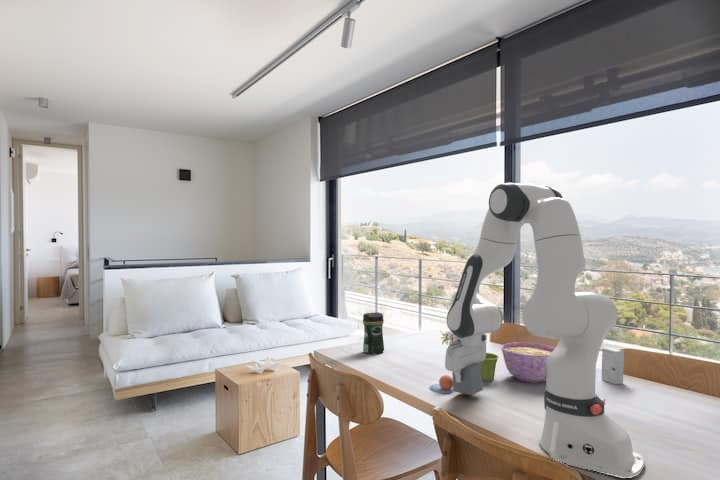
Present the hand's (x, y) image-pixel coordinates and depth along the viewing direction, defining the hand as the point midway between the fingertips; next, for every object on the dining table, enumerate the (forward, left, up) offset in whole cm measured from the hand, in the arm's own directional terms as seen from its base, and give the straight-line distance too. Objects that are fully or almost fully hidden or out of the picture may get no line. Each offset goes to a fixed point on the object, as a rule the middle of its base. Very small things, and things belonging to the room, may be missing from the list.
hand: (466, 378), depth 145 cm
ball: (+8, 0, -3) cm, 8 cm away
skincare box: (-31, -51, -6) cm, 60 cm away
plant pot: (+4, -21, -6) cm, 22 cm away
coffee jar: (+61, -19, -6) cm, 65 cm away
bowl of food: (-8, -32, -6) cm, 33 cm away
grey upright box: (-1, 0, -4) cm, 4 cm away
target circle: (+9, 0, -6) cm, 11 cm away
